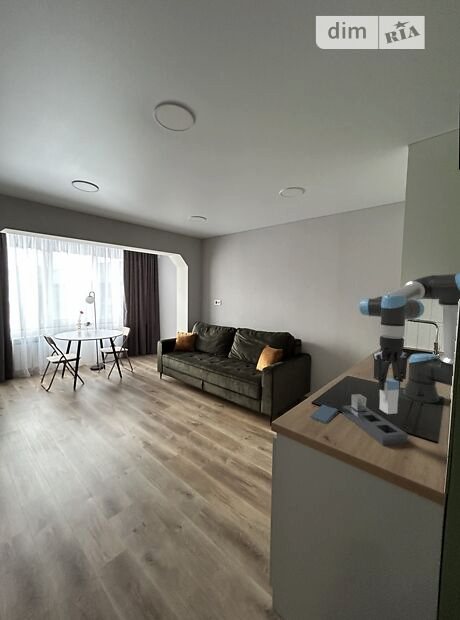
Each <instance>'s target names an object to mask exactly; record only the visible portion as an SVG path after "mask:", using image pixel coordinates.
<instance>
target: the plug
mask: <svg viewBox="0 0 460 620" xmlns="http://www.w3.org/2000/svg"><path fill="white" fill-rule="evenodd" d="M386 382H387V383H388V385H387V400H384V399H382V398H381V397H380V396H379V408H378V409H379V410H381V411H382V412H383V413H385V414H387V415H392V414H398V407H399V405H398V404H399V403H398V402H399V394H398V390H400V389H399V382H398V381H396V380H395V379H394V378H391V377H387V378H386Z"/></svg>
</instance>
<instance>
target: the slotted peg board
mask: <svg viewBox="0 0 460 620" xmlns="http://www.w3.org/2000/svg"><path fill="white" fill-rule="evenodd" d="M367 400H368V399H367V397H366V396H364V395H363V394H361V393H358V394H357V393H356V394H351V399H350V401H351V405H342V408H341V409H342V414H343V415H344V416H345V417H346V418H348V419H349V420H350V421H351V422H353V423H354V424H355V425H356V426H358V427H359V428H360V429H361V430H363V431H364V432H365V433H367V435H368V436H370V437H371V438H373V440H375V441H376V442H378V443H379V444H380V445H381V446H389V445H398V444H399V445H400V444H407V443H408V433H407V432H406V431H404V430H402V429H401V428H399V427H398V426H396V425H395V424H393V423H392V422H390V421H388V419H387V420H386V419H385V418H384V417H382V416H381V415H379V414H377V413H376V412H374V411H373V410H372V409H370V408H368V407H367Z"/></svg>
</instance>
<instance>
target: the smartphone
mask: <svg viewBox="0 0 460 620" xmlns="http://www.w3.org/2000/svg"><path fill="white" fill-rule="evenodd" d="M338 412H339V410H338V409H337V408H335V407H332V406H329V405H326V404H322V405H320V406H319V407H318V409H316V410H315V411H314V412H313V413H312V414H311V415H310V416H309V418H310V419H311V420H313V421H316V422H319V423H321V424H328V423H329V422H330V421H332V419H333V418H334V417H335V416H336V414H338Z"/></svg>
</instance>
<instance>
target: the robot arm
mask: <svg viewBox="0 0 460 620" xmlns="http://www.w3.org/2000/svg"><path fill="white" fill-rule="evenodd" d="M459 299H460V273H450V274H433V275H432V274H431V275H426V276H423V277H419V278H416V279H413V280H411V281H408V282H407V283H405V284H404V285H403V286H402V287H399V288H397V289H395V290H392V291H390V292H386V293H385V294H382V295H380V296H377V297H374V298H363V299H362V300H360V303H359V306H358V307H359V313H360V314H361V315H363V316H368V317H378V318H379V317H380V326H379V327H380V328H379V329H380V331H379V335H380V336H379V346H380V349H379V352H377V353H376V352H375V353H373V354H372V357H373V379H374V380H377V381H378V389H379V398H380V397H381V398H382V399H384V400H387V385H388V383H387V382H386V378H388V372H389V369H390V365H391V371H392V376H393V377H392V379H394V380H396V381H398V382H399V390H400V389H401V383H403V382H404V380H406V379H407V382H406V383H405V386H404V388H403V395H404V396H405V397H406V398H409V399H411V400H414V401H418V402H422V403H428V404H435V403H439V402H440V395H439V393H438V389H437V385H436V384H437V383H439V384H443V385H446V386H451V387H453V386H452V376H453V364H454V352H455V341H456V326H457V312H458V301H459ZM420 300H438V305H439V306H441V308H442V316H443V317H442V321H443V322H442V324H443V325H442V329H443V330H442V331H443V339H442V340H443V354H442V355H441V356H440V357H439V356H438V355H436V354H432V353H413V354H411V355H410V353H407V352H404V351H403V349H404V348H405V347H404V346H405V339H404V337H405V327H406V326H405V325H406V320H414V319H418V318H420V317H421V316H423V314H424V312H425V306H424V304H423V303H422V301H420ZM408 359H409V360H408ZM407 367H408V374H407ZM407 375H408V377H407ZM399 390H398V395H399V392H400V391H399Z"/></svg>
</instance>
